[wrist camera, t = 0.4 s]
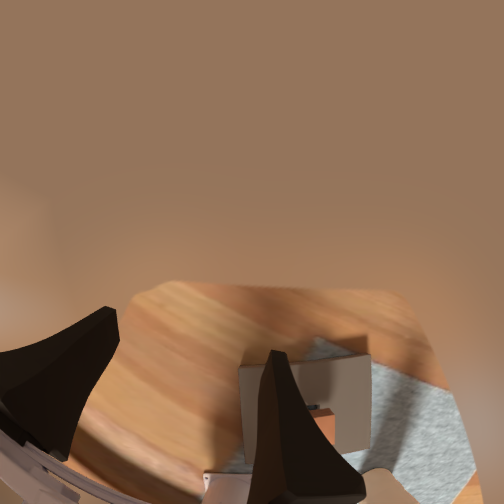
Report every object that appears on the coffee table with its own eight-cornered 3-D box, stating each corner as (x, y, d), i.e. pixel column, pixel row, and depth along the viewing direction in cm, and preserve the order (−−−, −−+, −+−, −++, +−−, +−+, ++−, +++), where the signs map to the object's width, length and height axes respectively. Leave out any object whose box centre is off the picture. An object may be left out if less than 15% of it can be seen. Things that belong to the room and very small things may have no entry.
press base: (363, 441, 32) (369, 448, 29) (246, 455, 32) (245, 464, 30) (364, 352, 36) (370, 354, 33) (240, 365, 36) (238, 368, 34)
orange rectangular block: (324, 427, 30) (334, 444, 24) (294, 430, 30) (300, 449, 24) (324, 401, 31) (334, 414, 25) (294, 404, 31) (299, 419, 25)
